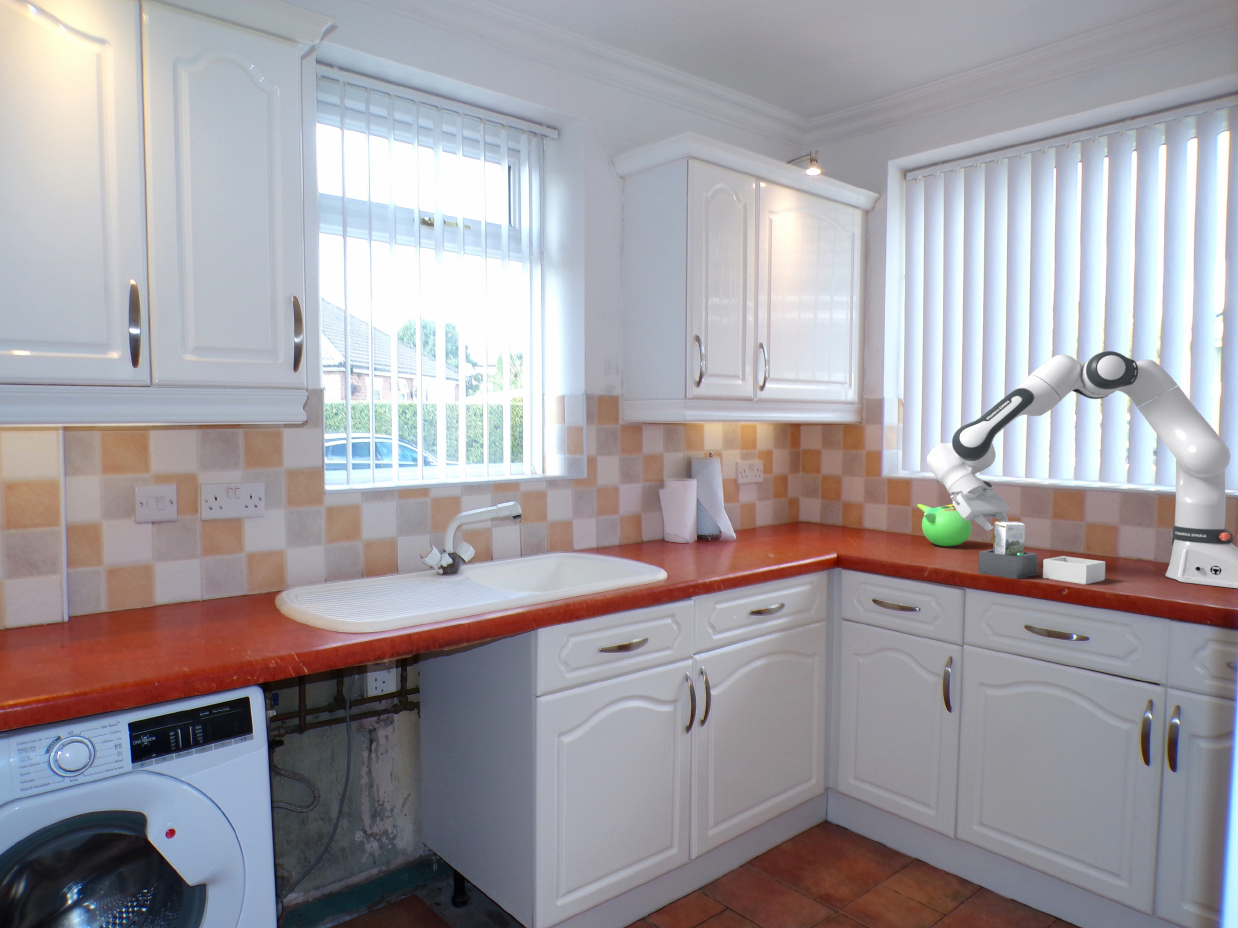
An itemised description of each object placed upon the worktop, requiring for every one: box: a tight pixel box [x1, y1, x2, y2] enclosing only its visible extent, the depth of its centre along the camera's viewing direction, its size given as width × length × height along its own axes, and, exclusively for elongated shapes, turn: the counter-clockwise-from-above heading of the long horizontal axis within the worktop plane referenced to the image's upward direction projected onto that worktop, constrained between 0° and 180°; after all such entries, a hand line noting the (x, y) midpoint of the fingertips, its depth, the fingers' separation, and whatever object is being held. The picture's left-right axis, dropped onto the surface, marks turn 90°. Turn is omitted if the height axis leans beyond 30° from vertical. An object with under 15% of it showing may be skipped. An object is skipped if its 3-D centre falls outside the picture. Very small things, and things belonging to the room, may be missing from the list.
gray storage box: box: [977, 548, 1039, 580], centre depth 225 cm, size 11×11×7 cm
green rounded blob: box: [917, 503, 973, 547], centre depth 278 cm, size 18×17×15 cm
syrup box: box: [992, 521, 1026, 556], centre depth 224 cm, size 6×6×14 cm
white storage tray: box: [1042, 555, 1106, 585], centre depth 218 cm, size 11×11×5 cm
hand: (999, 528), depth 226 cm, fingers open, 8 cm apart
